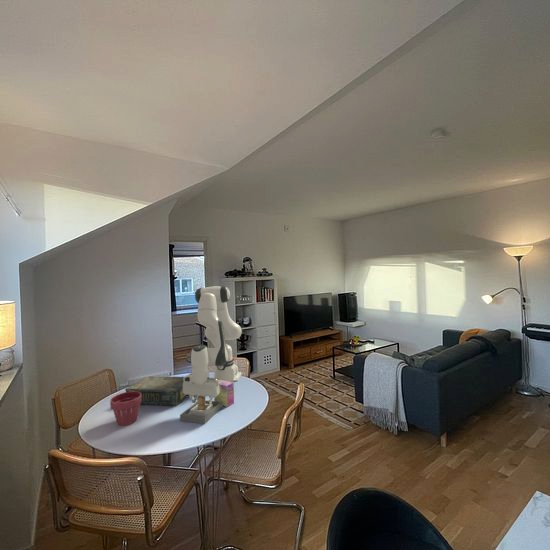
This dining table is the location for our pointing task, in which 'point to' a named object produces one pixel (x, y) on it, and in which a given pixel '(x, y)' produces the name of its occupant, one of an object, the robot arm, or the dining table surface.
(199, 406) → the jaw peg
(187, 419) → the housing
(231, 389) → the box
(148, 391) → the metal box
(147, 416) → the dining table surface
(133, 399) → the plant pot
